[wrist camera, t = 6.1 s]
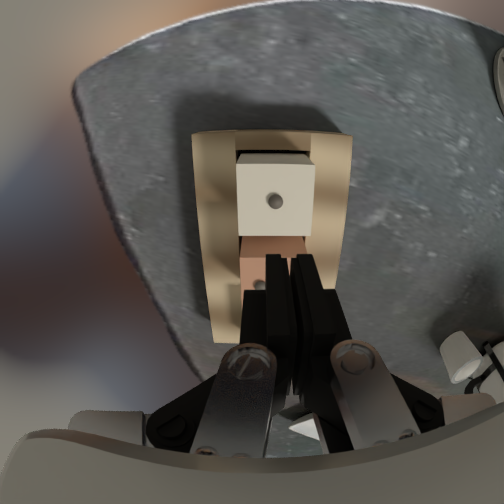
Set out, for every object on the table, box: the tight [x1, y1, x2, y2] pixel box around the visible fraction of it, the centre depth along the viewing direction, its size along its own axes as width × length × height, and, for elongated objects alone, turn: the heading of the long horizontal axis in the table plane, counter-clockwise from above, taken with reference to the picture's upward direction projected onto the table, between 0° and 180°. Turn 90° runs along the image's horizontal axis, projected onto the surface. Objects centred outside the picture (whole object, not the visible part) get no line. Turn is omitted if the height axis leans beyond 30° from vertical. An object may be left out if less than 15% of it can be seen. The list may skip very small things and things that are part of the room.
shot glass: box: [440, 331, 483, 384], centre depth 33 cm, size 7×7×7 cm
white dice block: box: [236, 153, 315, 236], centre depth 21 cm, size 5×5×5 cm
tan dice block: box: [240, 236, 307, 306], centre depth 24 cm, size 5×5×5 cm
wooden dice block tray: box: [192, 129, 353, 343], centre depth 27 cm, size 23×13×3 cm, turn 1°
